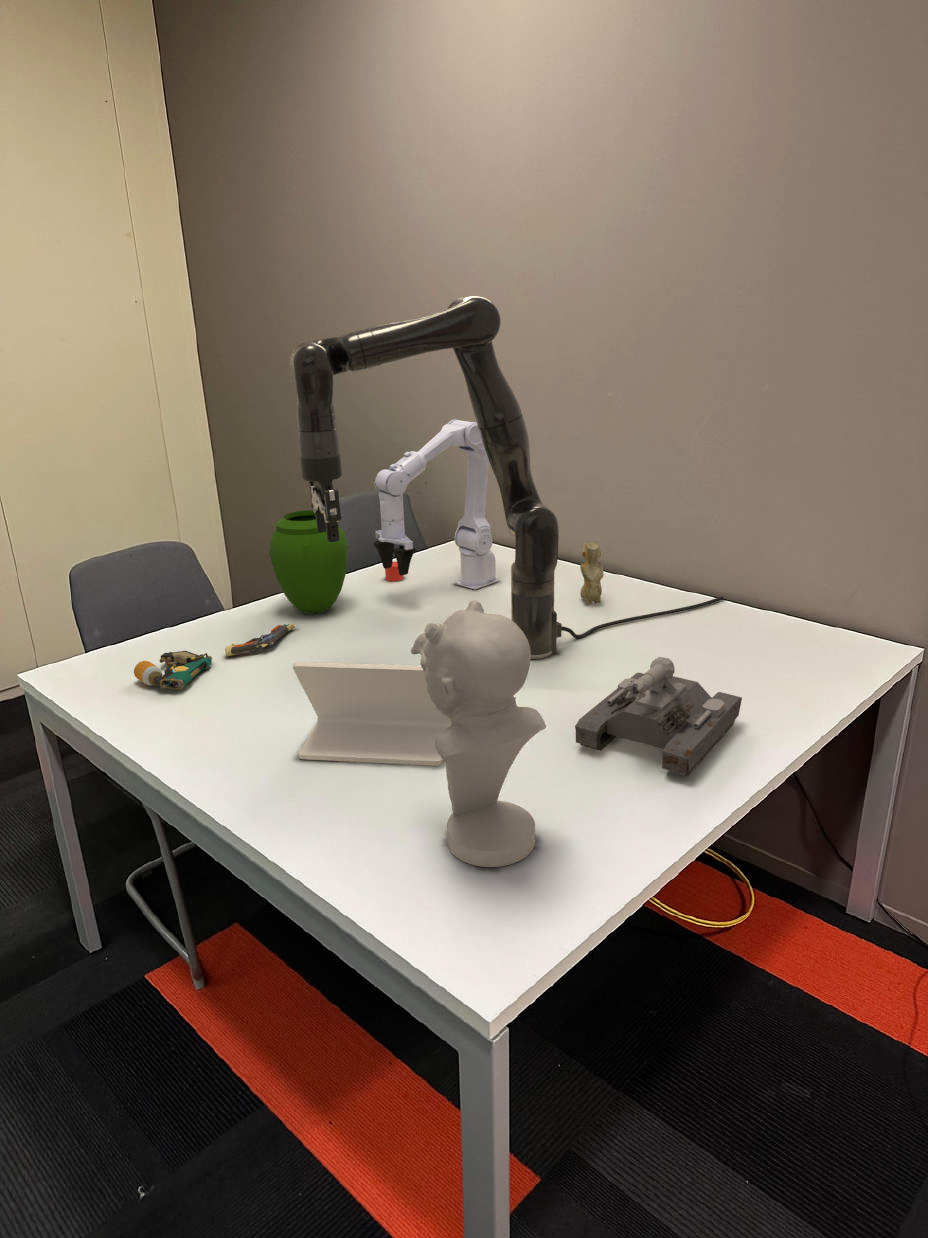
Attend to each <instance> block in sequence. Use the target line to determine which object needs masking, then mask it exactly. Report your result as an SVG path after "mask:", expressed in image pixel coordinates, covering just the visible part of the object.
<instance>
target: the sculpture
mask: <svg viewBox="0 0 928 1238" xmlns="http://www.w3.org/2000/svg"><path fill="white" fill-rule="evenodd" d="M582 545H583V551H582V552H581V557H582V558H583V559H584V560H585V562H584V563H581V564H580V566H579V569H580V573H581V575H582V577H583V582H584V583H583V585H582V587H581V588H580V592H579V594H580V598H581V599H582V600H583V601H585V603H586V605H593V603H594V605H598V604H601V601H602V600H601V599H602V594H603V588H602V584H601V580H602V579H603V578H604V564H603V563H601V562H599V559H600V558H601V557H602V551H601V550H600V549H601V546H600V545H599V544H598V543H597V542H592V543H587V542H584V543H583V544H582Z"/></svg>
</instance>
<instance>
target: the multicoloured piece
mask: <svg viewBox="0 0 928 1238" xmlns="http://www.w3.org/2000/svg"><path fill="white" fill-rule="evenodd" d="M212 660H213V657H212V656H211V655H208V653H207V652H205V653H201V654H197V653H194V652H192V651H191V652H190V651H188V650H180V651H169V652H164V653H162V654H161V655H160V658H159V660H158V662H159V663H161V664H163V663H165V664H166V668H165V670H163V672H164V674H163V673H162V669H160V668H159V666H157V665H156V664H154V663H152V662H151V661H149V660H141V661H139V662H138V663H136V665H135V666H134V668H133V675H134V677H135V678H136V679H137V680H139V681H140V682H142V683H143V684H145V685H147V686H155V685H157V686H158V687H160V688H161V689H171V690H172V689H173V690H182V689H184V687H185V686H186V685H188V684H189V683H190V682H191V681H192V679H193V678H195V677H196V676H197V675H198V674H200V673H201V672H202V671H203V670H206V669H208V668H209V667H210V666H211V665H212V662H213V661H212ZM178 663H179V664H181V665H179V666H176V665H177V664H178Z"/></svg>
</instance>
